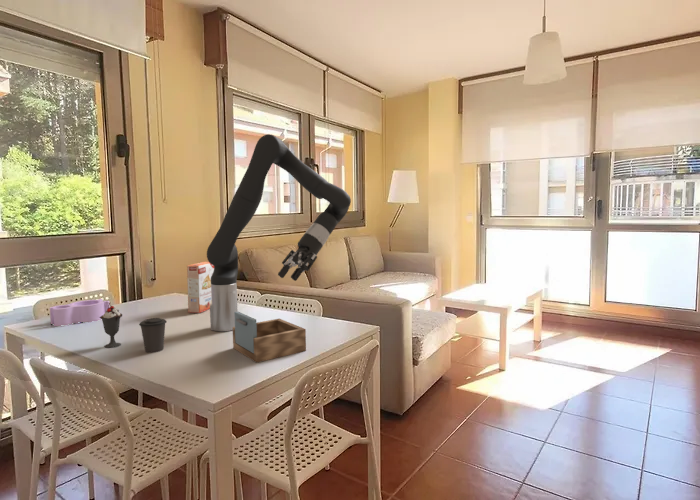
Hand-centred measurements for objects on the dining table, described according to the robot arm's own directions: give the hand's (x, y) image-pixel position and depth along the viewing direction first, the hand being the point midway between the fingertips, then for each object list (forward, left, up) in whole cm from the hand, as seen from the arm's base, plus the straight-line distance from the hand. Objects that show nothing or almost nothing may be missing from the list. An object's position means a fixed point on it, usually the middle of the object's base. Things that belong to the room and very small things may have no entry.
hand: (286, 277), depth 143 cm
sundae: (-58, -2, -23) cm, 62 cm away
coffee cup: (-42, -6, -23) cm, 48 cm away
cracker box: (-47, +49, -23) cm, 72 cm away
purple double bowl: (-90, +30, -23) cm, 98 cm away
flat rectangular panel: (-12, -10, -20) cm, 26 cm away
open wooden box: (-5, -5, -22) cm, 23 cm away
